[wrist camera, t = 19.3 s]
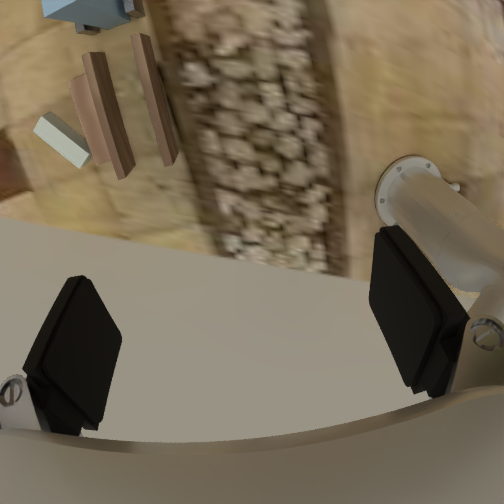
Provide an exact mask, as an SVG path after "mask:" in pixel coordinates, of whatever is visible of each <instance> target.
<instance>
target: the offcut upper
mask: <svg viewBox="0 0 504 504" xmlns="http://www.w3.org/2000/svg"><path fill="white" fill-rule="evenodd" d="M33 132H34V133H36V134H37V135H38V136H39V137H41V138H42V139H43V140H44V141H45V142H47V143H48V144H49V145H50V146H52V147H53V148H54V149H55V150H57V151H58V152H59V153H60V154H61V155H63V156H64V157H65V158H66V159H68V160H69V161H70V162H72V163H73V164H74V165H75V166H77V167H78V168H79V169H80V168H81V167H82V166H84V165H85V164H86V163H87V162H88V160H89V159H90V157H91V156H92V154H91V151H90V149H89V146H88V143H87V141H86V139H84V138H83V137H82V136H81V135H79V134H78V133H77V132H76V131H74V130H73V129H72V128H71V127H69V126H68V125H67V124H66V123H64V122H63V121H62V120H61V119H59V118H58V117H57V116H56V115H54V114H53V113H52V112H50V113H47V114H45V115H42V116H41V117H40V119H39V121H38V123H37V125H36V127H35V129H34V130H33Z"/></svg>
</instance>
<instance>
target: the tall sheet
mask: <svg viewBox="0 0 504 504" xmlns="http://www.w3.org/2000/svg"><path fill="white" fill-rule="evenodd" d="M42 7H43V13H44V18H50V19H57V20H63V21H69V22H75V23H80V24H85V25H90V26H95V27H99V28H104V29H108V30H109V29H111V28H114V27H116V26H119V25H121V24H124V23H127V22H130V16H129V14H127V13H126V12H125V7H124V2H123V0H42Z"/></svg>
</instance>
